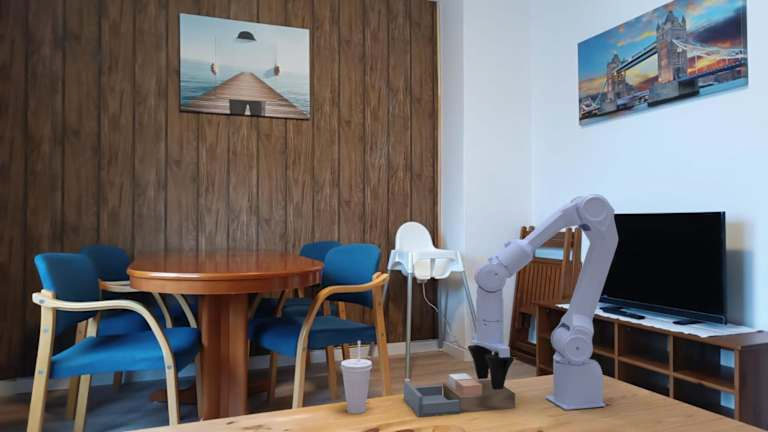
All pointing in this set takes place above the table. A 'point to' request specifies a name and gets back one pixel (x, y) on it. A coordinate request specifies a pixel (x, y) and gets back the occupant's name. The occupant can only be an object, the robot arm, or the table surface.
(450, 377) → the tile cream
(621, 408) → the table surface
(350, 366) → the smoothie
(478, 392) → the tile terracotta
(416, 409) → the tray
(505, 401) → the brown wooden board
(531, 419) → the table surface
